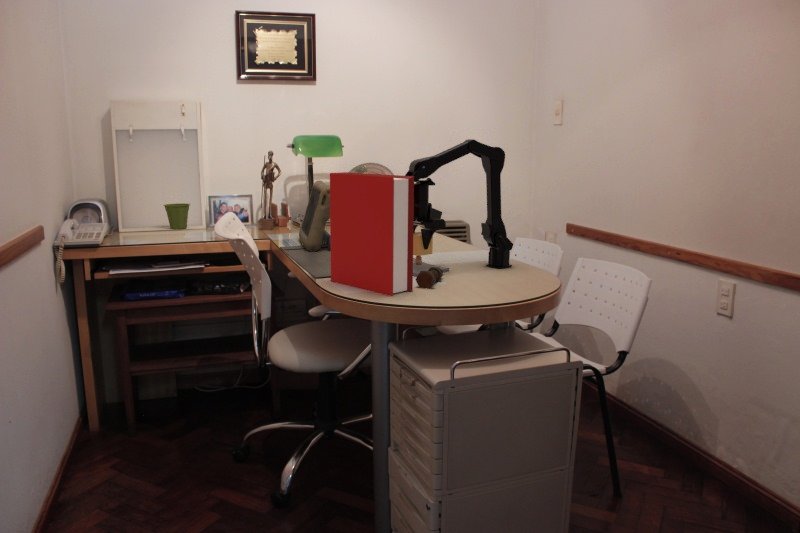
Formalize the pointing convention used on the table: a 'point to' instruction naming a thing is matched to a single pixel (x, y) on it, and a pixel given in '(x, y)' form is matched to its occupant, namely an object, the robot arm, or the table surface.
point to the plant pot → (177, 215)
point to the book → (372, 231)
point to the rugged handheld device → (316, 218)
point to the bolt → (429, 277)
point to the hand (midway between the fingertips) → (418, 248)
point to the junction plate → (424, 266)
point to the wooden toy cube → (421, 245)
